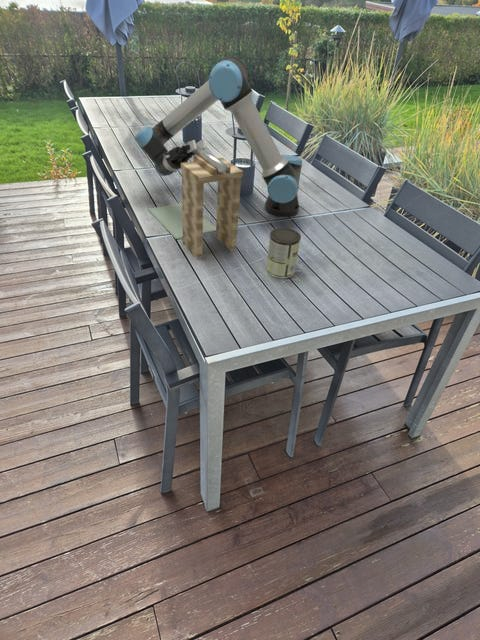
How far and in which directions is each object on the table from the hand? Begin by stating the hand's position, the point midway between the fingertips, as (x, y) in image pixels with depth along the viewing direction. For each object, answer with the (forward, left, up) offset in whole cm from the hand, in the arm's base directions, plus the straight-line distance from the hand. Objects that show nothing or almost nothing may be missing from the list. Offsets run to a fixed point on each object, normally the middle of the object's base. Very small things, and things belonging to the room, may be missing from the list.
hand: (199, 143), depth 147 cm
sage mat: (+4, -15, -35) cm, 38 cm away
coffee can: (-23, +28, -35) cm, 51 cm away
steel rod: (-1, +5, -4) cm, 6 cm away
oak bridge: (-2, +8, -35) cm, 36 cm away
